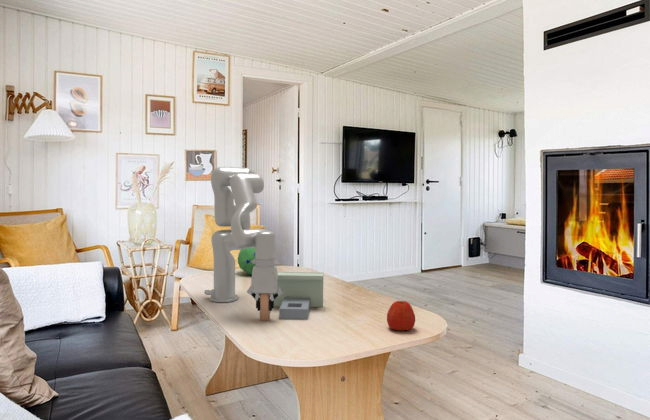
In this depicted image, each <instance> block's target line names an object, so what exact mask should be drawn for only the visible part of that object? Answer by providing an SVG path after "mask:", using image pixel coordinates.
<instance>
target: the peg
mask: <svg viewBox="0 0 650 420" xmlns="http://www.w3.org/2000/svg"><path fill="white" fill-rule="evenodd" d="M259 298H260V310H259V321H262V322H268V321H271V311H269V301H270V299H271V298H270V294H261V293H260V297H259Z"/></svg>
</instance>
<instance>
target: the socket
mask: <svg viewBox="0 0 650 420" xmlns="http://www.w3.org/2000/svg"><path fill="white" fill-rule="evenodd" d="M278 310H279V311H278V312H279V313H278V314H279V317H278V319H279V320H308V319H309V316H310V315H309V314H310V310H311V307H310V298H286V297H285V298H284V300H283V302H282V304H281V306H279V309H278Z"/></svg>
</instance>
